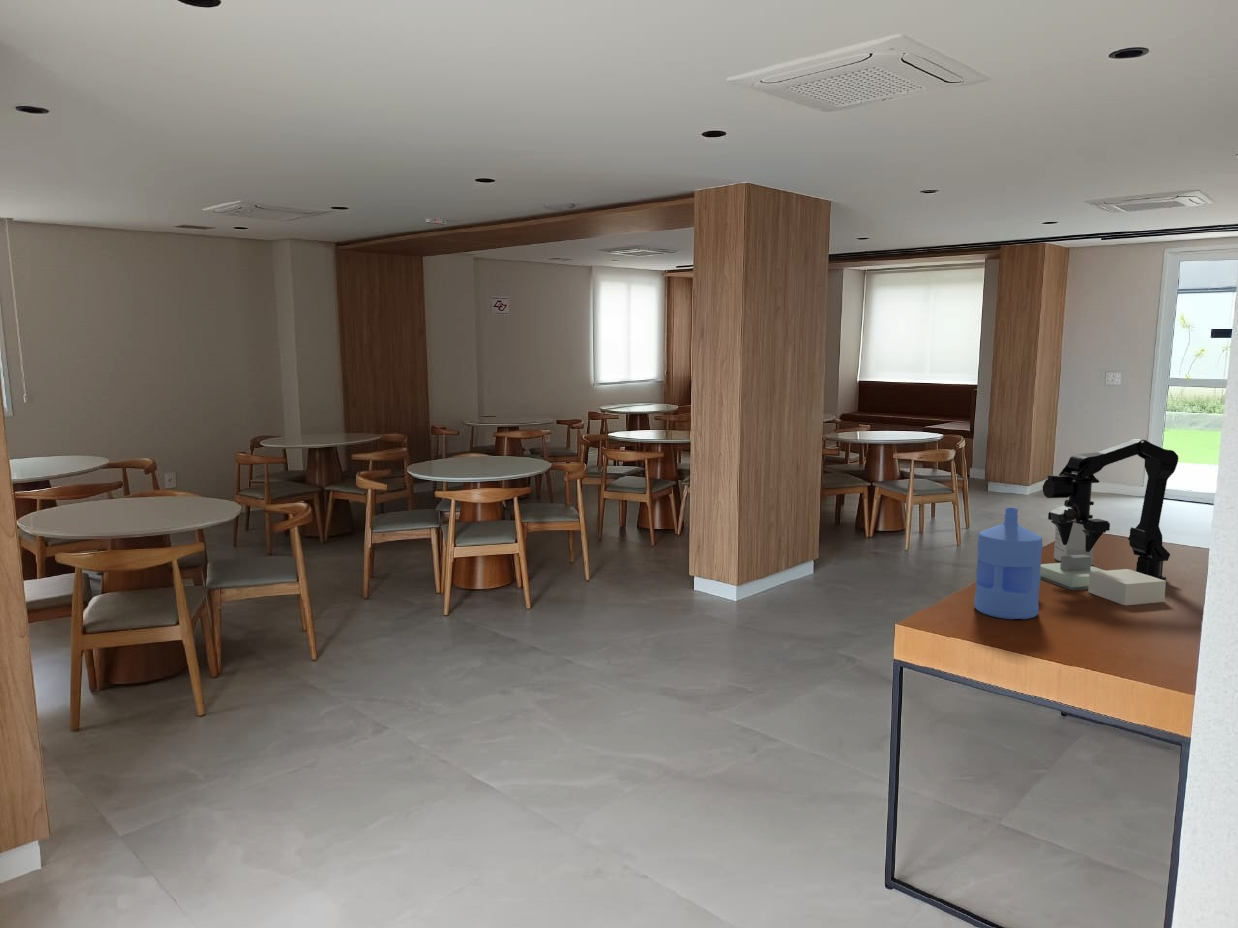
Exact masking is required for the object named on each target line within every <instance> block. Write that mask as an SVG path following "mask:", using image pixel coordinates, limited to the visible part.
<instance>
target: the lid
mask: <svg viewBox="0 0 1238 928" xmlns="http://www.w3.org/2000/svg"><path fill="white" fill-rule="evenodd" d="M1095 571H1106V570H1105V569H1102V568H1099V567H1096V566H1094V565H1091V557H1090V556H1087V555H1084V554H1083V555H1069V556H1061V562H1055V563H1053V562H1052V563H1041V567H1040V575H1041V576H1042V577H1045V578H1047V579H1050V580H1053V581H1055V582H1058V583H1061V584H1063V585H1066V586H1069V587H1072V588H1073V587H1085V586H1089V573H1090V572H1095Z"/></svg>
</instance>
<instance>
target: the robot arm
mask: <svg viewBox="0 0 1238 928" xmlns="http://www.w3.org/2000/svg"><path fill="white" fill-rule="evenodd" d="M1134 456H1138V457H1139V458H1141V459H1142V460H1144V469H1145V471H1146V474H1147V481H1146V485H1145V493H1144V498H1143V503H1142V509H1141V515H1140V520H1139V523H1138V524H1137V525H1136V527H1130V529H1129V536H1128V538H1127V540H1128V542H1129V543H1128V544H1129V547H1130V548H1131V549H1132V552H1133V555H1134V556H1138V557H1137V561H1136V566H1135V567H1136V569H1135V571H1136V572H1139V573H1142V574H1145V575H1149V576H1152V577H1155V578H1158V579H1161V580H1167V577H1166V576H1164V575H1163V569H1164V562H1167V561H1169V559H1170V556H1171V553H1170V552H1169V551H1168V550H1167V549H1166V548H1165V547H1164V546H1163V534H1162V532H1161V529H1160V521H1161V515H1162V511H1163V505H1164V500H1165V494H1166V488H1167V484H1168V480H1169V479H1170V477H1171V476H1172V475H1173V474H1174V473H1175V471H1176V468H1177V466H1178V463H1179V455H1178V454H1177V452H1175V451H1174V450H1173V449H1166V448H1163V447H1161V446H1158V445H1155V444H1154V443H1151V442H1150V441H1148V440H1146V439H1141V438H1132V439H1130V440H1129V441H1126V442H1123V443H1120V444H1117V445H1114V446H1110V447H1109V448H1105V449H1103V450H1100V451H1096V452H1087V453H1079V454H1073V455H1072V456H1070V457H1069V459H1068V462H1067V464H1066V465H1065V466H1064V467H1063V468H1062V470H1060V471H1061V472H1059V474H1058V475H1052V474H1049V475H1047V479H1045V481H1044V482H1043V484H1042V493H1043V495H1044V497H1046V499H1065V498H1068V499H1065V500H1064V505H1061V506H1057V507H1056V508H1054V509H1052V510H1050V511H1049V512H1048V517H1047V520H1049V521H1050V522H1051V524H1054V526H1055V527H1056V526H1057V528H1058V530H1059V533H1060V536H1061V540H1062V543H1063V545H1067V543H1068V540H1069V536H1070V533H1071V529H1072V525H1073V522H1074V523H1078V524H1082V525H1083V527H1084V529H1085V530H1082V531H1083V532H1084V533H1085V535H1086V542H1085V548H1086V552H1090V551H1091V549H1092V548H1093V546H1094V547H1095V545H1096V543H1097V542H1098V540H1099V539H1100V538H1101V536H1102V535H1103V534H1105V533H1107V532H1108V531H1110V529H1111V523H1110V522H1109V521H1108V520H1104V519H1101V518H1093V517H1094V515H1093V514H1091V512H1090V511H1091V506H1094V503H1095V502H1094V501H1092V499H1091V497H1092V486H1093V485H1092V484H1098V483H1100V480H1099V479H1098V478H1097V477H1095V474H1097V473H1099V472H1100V471H1102V469H1103V468H1105V467H1106V466H1108V465H1111V464H1114V463H1117V462H1119V461H1123V460H1125V459H1129V458H1132V457H1134ZM1074 519H1075V520H1074Z"/></svg>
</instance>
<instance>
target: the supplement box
mask: <svg viewBox="0 0 1238 928" xmlns="http://www.w3.org/2000/svg"><path fill="white" fill-rule="evenodd" d="M1074 520H1075V519H1074ZM1082 530H1085V529H1084V527H1083V525H1082V524H1078V523H1074V522H1073V525H1072V529H1071V533H1070V536H1069V540H1068V543H1067V545H1063V543H1062V540H1061V536H1060V533H1059V530H1058V528H1057V526H1056V525H1055V533H1054V549H1053V551H1054V552H1053V559H1054V560H1055V561H1056V560H1057V561H1058V562H1060V561H1061V556H1069V555H1083V554H1084V555H1087V556H1090V557H1091V566H1094V554H1095V545H1094V546H1093V548H1092V549H1091V551H1090V552H1086V548H1085V542H1086V535H1085V533H1084V532H1083V531H1082Z"/></svg>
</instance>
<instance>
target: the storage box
mask: <svg viewBox="0 0 1238 928" xmlns="http://www.w3.org/2000/svg"><path fill="white" fill-rule="evenodd" d="M1166 582H1167V580H1166V579H1158V578H1155V577H1152V576H1149V575H1145V574H1142V573H1139V572H1136V570H1133V569H1130V568H1121V569H1111V570H1110V569H1109V570H1105V571H1095V572H1090V573H1089V587H1088V589H1087V590H1088V594H1089V593H1090V594H1093V595H1095V596H1098V597H1100V598H1104V599H1105V600H1108V601H1111V602H1114V603H1117V604H1119V605H1122V606H1132V605H1134V606H1135V605H1145V604H1157V603H1158V604H1159V603H1165V597H1166V584H1167V583H1166Z"/></svg>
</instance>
